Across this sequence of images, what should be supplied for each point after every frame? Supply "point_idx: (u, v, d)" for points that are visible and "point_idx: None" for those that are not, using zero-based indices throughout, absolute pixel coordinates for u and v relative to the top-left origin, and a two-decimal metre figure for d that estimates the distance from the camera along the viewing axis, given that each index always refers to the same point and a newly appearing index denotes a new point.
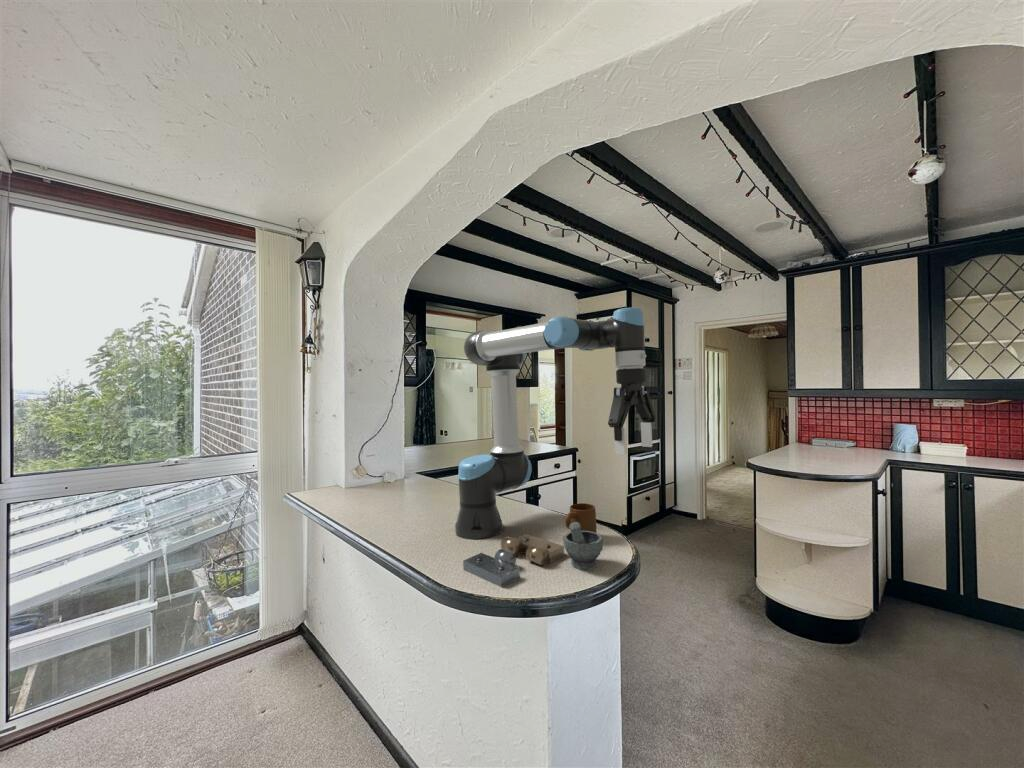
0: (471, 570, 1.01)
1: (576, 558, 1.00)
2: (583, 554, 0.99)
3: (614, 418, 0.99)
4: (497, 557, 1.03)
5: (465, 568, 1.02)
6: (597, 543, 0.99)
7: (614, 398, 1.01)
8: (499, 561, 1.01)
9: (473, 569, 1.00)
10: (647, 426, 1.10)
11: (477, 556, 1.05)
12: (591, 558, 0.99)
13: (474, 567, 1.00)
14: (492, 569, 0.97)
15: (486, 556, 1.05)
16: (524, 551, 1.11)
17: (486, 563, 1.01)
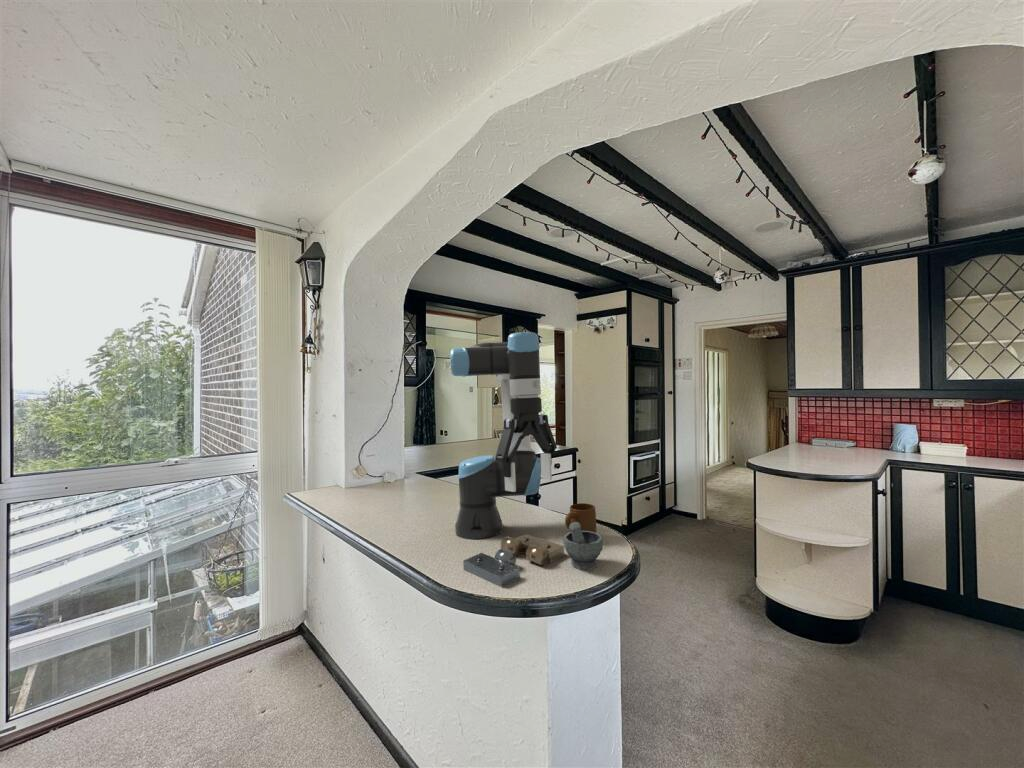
0: (471, 570, 1.01)
1: (576, 558, 1.00)
2: (583, 554, 0.99)
3: (501, 453, 0.91)
4: (497, 557, 1.03)
5: (465, 568, 1.03)
6: (597, 543, 0.99)
7: (504, 430, 0.94)
8: (499, 561, 1.01)
9: (473, 569, 1.00)
10: (546, 457, 1.03)
11: (477, 556, 1.05)
12: (591, 558, 0.99)
13: (474, 567, 1.00)
14: (493, 569, 0.97)
15: (486, 556, 1.05)
16: (524, 551, 1.11)
17: (486, 563, 1.01)
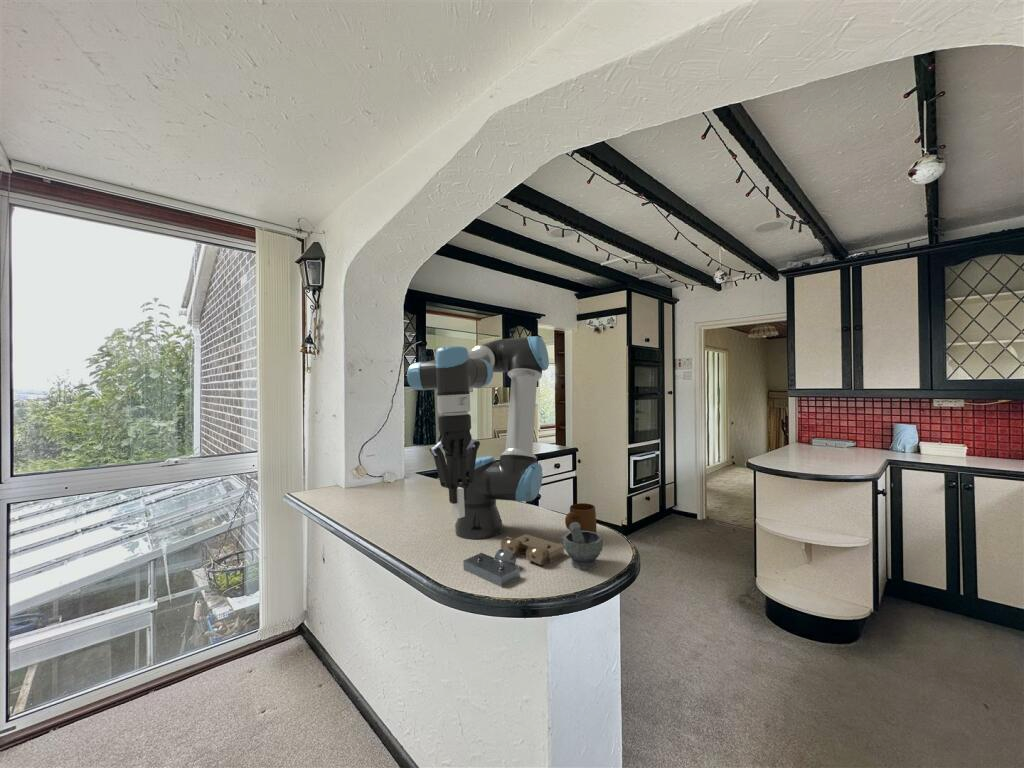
0: (471, 570, 1.01)
1: (576, 558, 1.00)
2: (583, 554, 0.99)
3: (443, 482, 0.91)
4: (497, 557, 1.03)
5: (465, 568, 1.03)
6: (597, 543, 0.99)
7: (435, 459, 0.91)
8: (499, 561, 1.01)
9: (473, 568, 1.00)
10: None
11: (477, 556, 1.05)
12: (591, 558, 0.99)
13: (475, 567, 1.00)
14: (493, 569, 0.97)
15: (486, 556, 1.05)
16: (524, 551, 1.11)
17: (486, 563, 1.01)
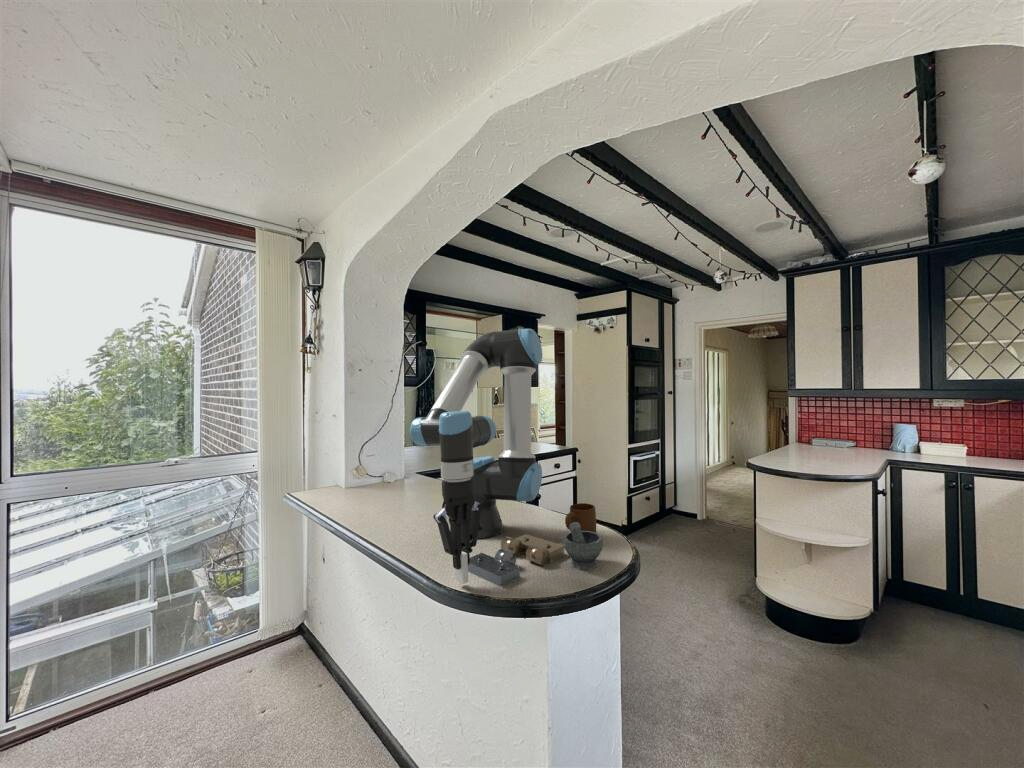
0: (471, 570, 1.01)
1: (576, 558, 1.00)
2: (583, 554, 0.99)
3: (447, 548, 0.91)
4: (497, 557, 1.03)
5: None
6: (597, 543, 0.99)
7: (438, 526, 0.91)
8: (499, 561, 1.01)
9: (474, 568, 1.00)
10: None
11: (477, 556, 1.05)
12: (591, 558, 0.99)
13: (475, 567, 1.00)
14: (493, 569, 0.97)
15: (486, 556, 1.05)
16: (524, 551, 1.11)
17: (486, 563, 1.01)
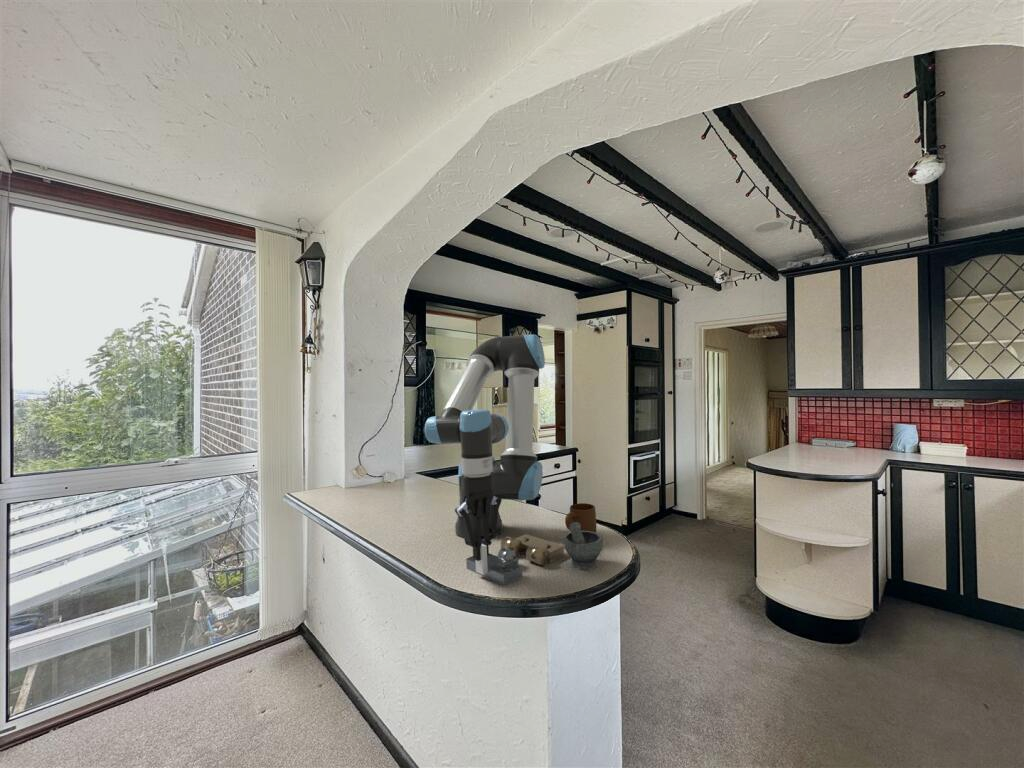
0: (474, 568, 1.01)
1: (576, 558, 1.00)
2: (583, 554, 0.99)
3: (468, 541, 0.95)
4: (500, 556, 1.04)
5: (468, 566, 1.03)
6: (597, 543, 0.99)
7: (460, 519, 0.95)
8: (502, 559, 1.02)
9: None
10: None
11: None
12: (591, 558, 0.99)
13: None
14: (495, 567, 0.98)
15: (489, 554, 1.05)
16: (524, 551, 1.11)
17: (489, 561, 1.01)
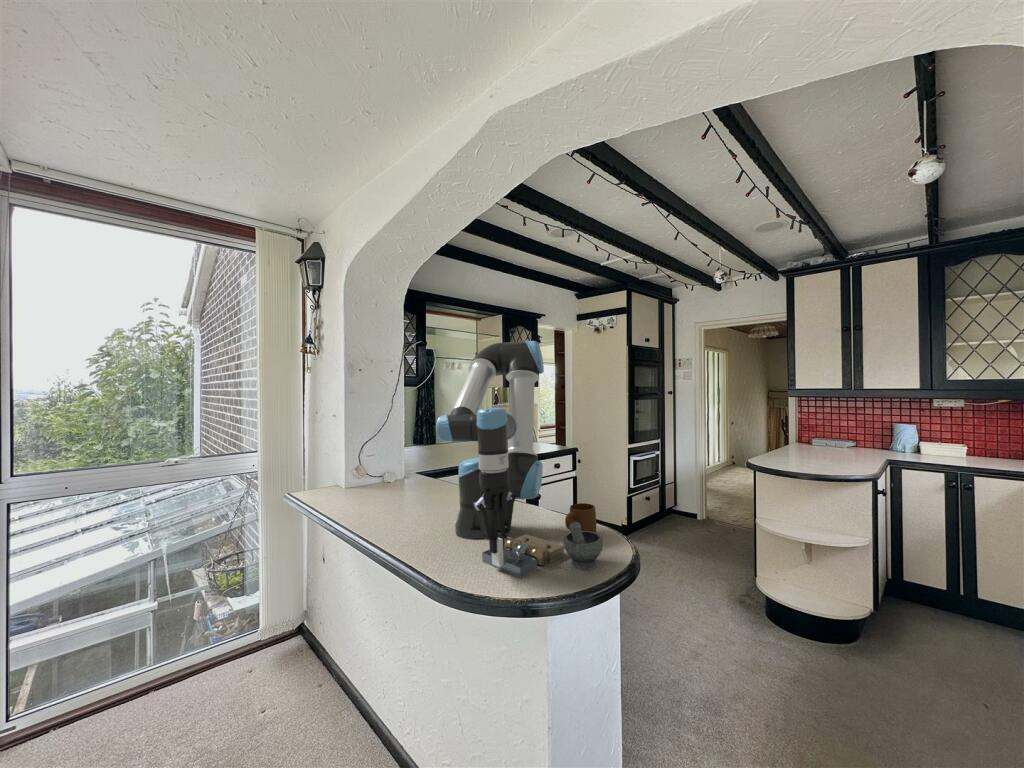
0: (490, 561, 1.05)
1: (576, 558, 1.00)
2: (583, 554, 0.99)
3: (485, 534, 0.99)
4: (515, 549, 1.07)
5: (484, 560, 1.07)
6: (597, 543, 0.99)
7: (477, 513, 0.99)
8: (517, 553, 1.06)
9: None
10: None
11: None
12: (591, 558, 0.99)
13: None
14: (511, 560, 1.02)
15: (504, 548, 1.09)
16: None
17: (504, 555, 1.05)
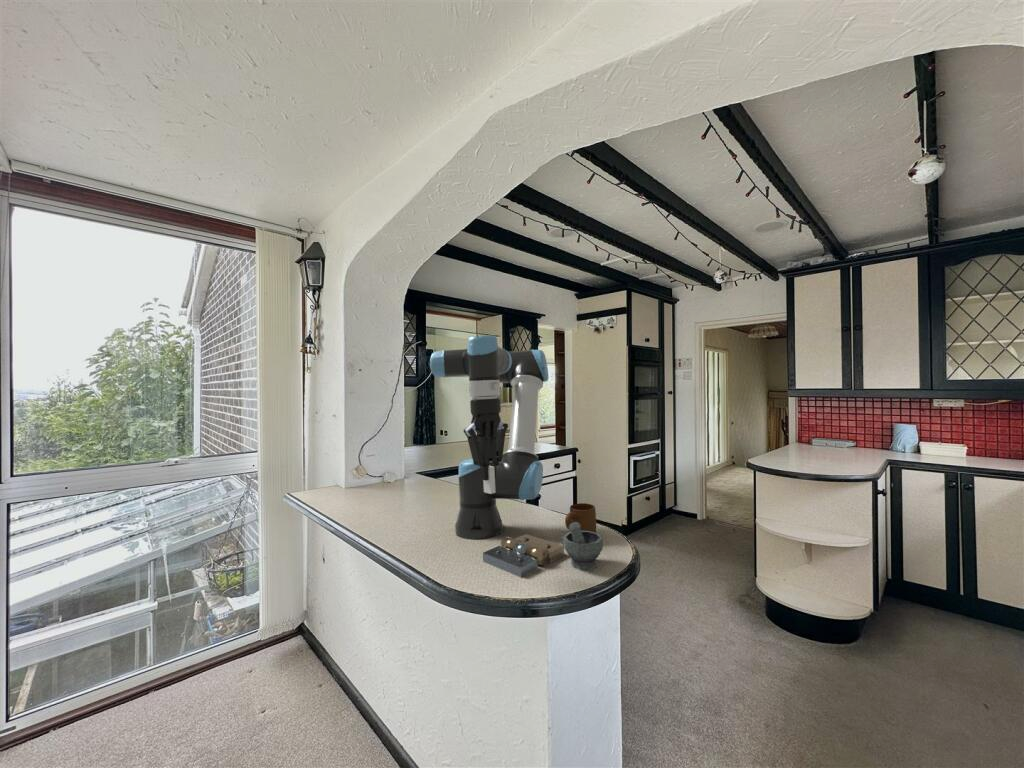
0: (491, 562, 1.05)
1: (576, 558, 1.00)
2: (583, 554, 0.99)
3: (476, 460, 0.99)
4: (515, 549, 1.07)
5: (485, 560, 1.07)
6: (597, 543, 0.99)
7: (468, 439, 0.99)
8: (517, 553, 1.06)
9: (493, 560, 1.05)
10: None
11: (496, 549, 1.10)
12: (591, 558, 0.99)
13: (494, 559, 1.04)
14: (512, 560, 1.02)
15: (504, 548, 1.09)
16: None
17: (505, 555, 1.05)
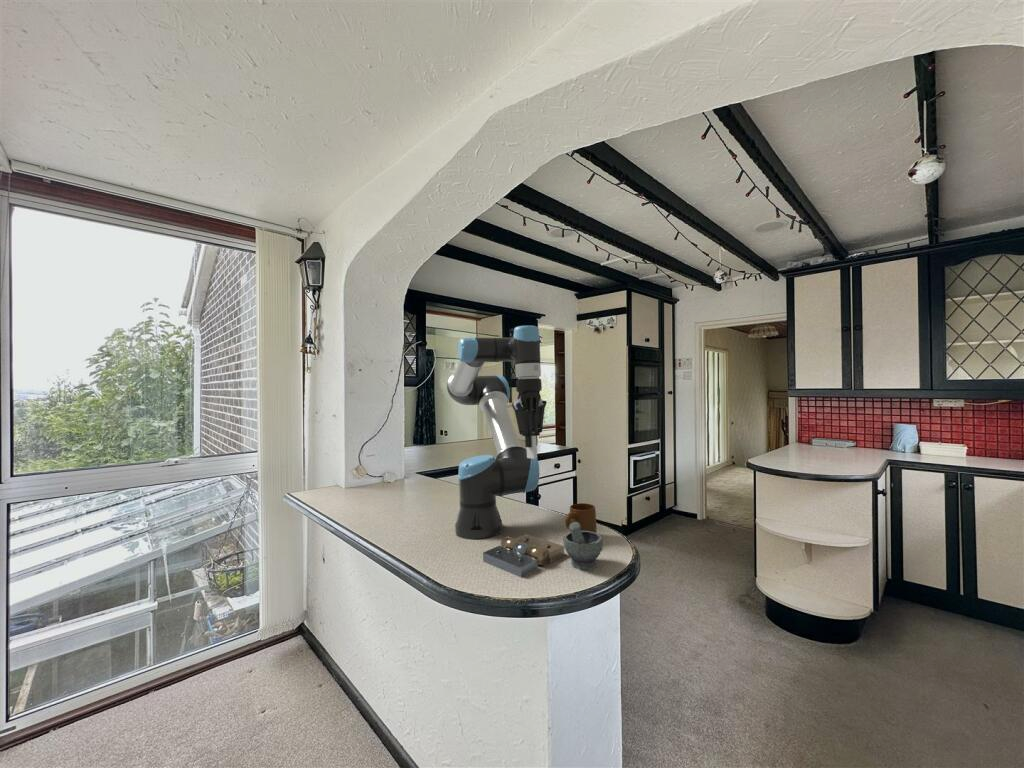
0: (491, 562, 1.05)
1: (576, 558, 1.00)
2: (583, 554, 0.99)
3: (522, 430, 1.18)
4: (515, 549, 1.07)
5: (485, 560, 1.07)
6: (597, 543, 0.99)
7: (515, 412, 1.18)
8: (517, 553, 1.06)
9: (493, 560, 1.05)
10: None
11: (496, 548, 1.10)
12: (591, 558, 0.99)
13: (494, 559, 1.04)
14: (512, 560, 1.02)
15: (504, 548, 1.09)
16: None
17: (505, 555, 1.05)
